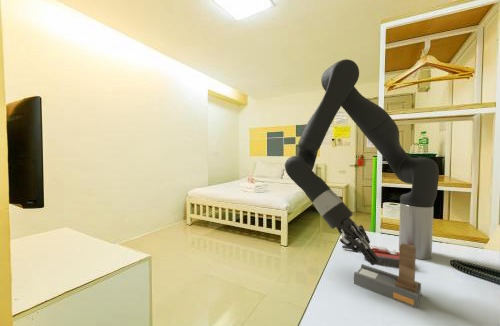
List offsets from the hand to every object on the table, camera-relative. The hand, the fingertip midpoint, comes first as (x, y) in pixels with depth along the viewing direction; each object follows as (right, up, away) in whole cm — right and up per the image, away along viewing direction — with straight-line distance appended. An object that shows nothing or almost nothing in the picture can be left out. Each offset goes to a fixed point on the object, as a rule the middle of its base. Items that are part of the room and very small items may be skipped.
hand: (376, 262), depth 58 cm
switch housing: (+2, -6, -1) cm, 6 cm away
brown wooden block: (+5, -4, -4) cm, 8 cm away
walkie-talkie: (+8, -6, +15) cm, 19 cm away
